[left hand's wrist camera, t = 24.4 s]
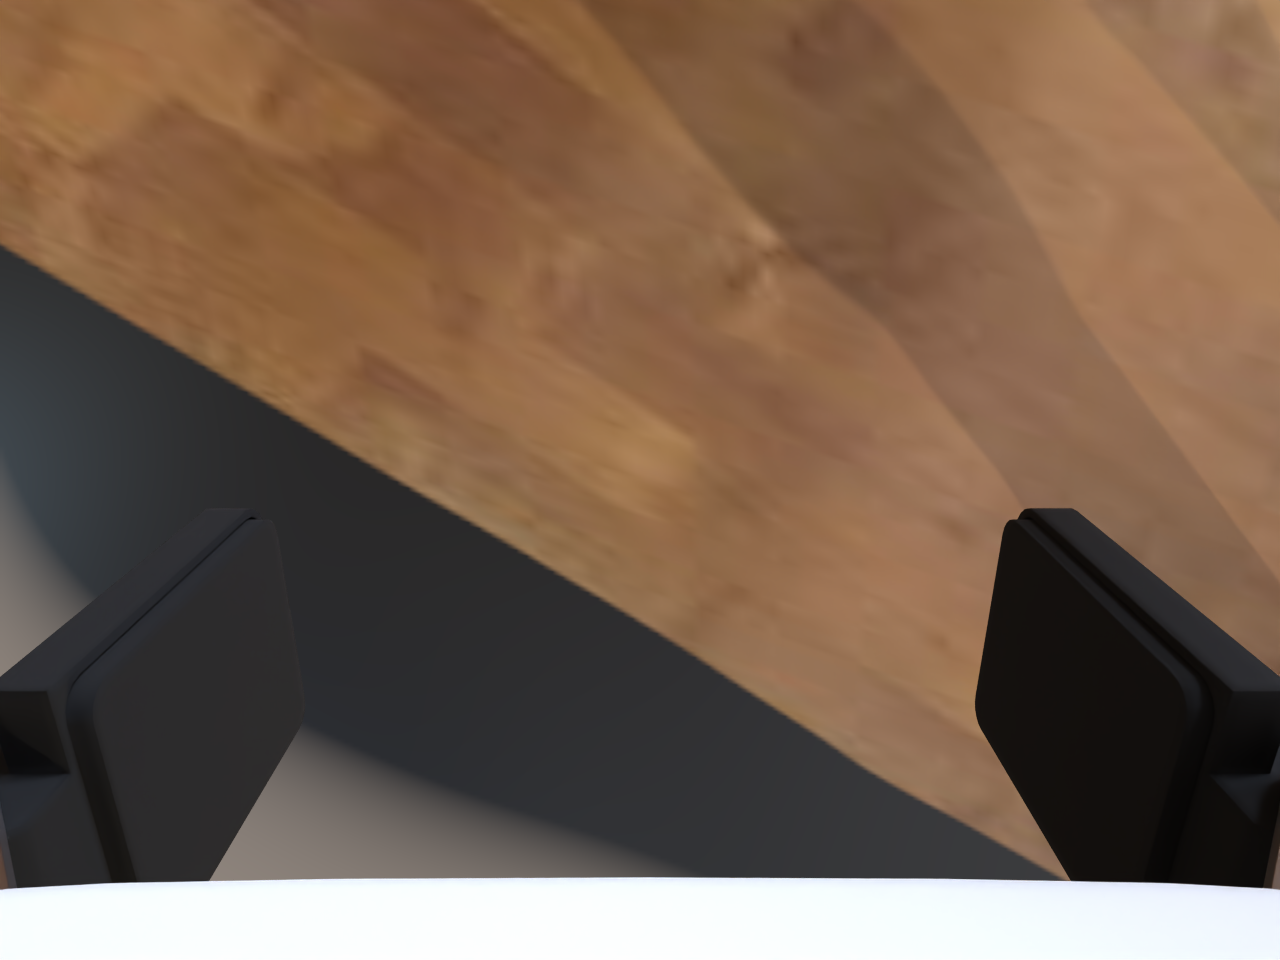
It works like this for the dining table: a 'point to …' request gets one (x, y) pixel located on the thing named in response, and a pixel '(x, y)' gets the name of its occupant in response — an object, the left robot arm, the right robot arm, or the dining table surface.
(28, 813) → the left robot arm
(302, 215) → the dining table surface
